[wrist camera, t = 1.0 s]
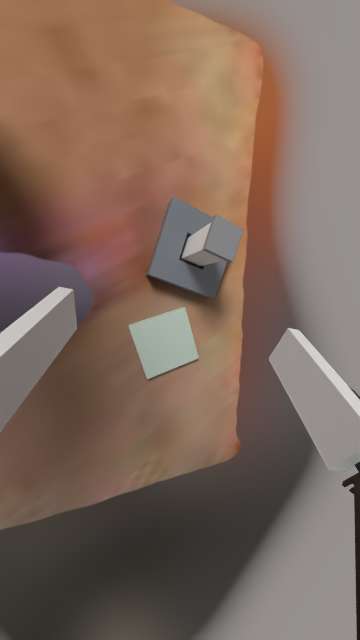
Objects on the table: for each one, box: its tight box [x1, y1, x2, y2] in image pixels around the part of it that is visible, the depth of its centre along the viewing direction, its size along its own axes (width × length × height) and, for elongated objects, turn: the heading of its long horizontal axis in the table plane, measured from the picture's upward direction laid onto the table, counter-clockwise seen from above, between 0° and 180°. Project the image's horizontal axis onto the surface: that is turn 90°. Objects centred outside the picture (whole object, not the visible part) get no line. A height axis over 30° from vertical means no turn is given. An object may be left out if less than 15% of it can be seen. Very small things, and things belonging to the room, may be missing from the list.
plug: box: [179, 215, 244, 267], centre depth 33 cm, size 5×5×14 cm
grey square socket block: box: [146, 196, 227, 299], centre depth 38 cm, size 14×14×4 cm
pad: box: [128, 307, 199, 379], centre depth 41 cm, size 12×12×1 cm
